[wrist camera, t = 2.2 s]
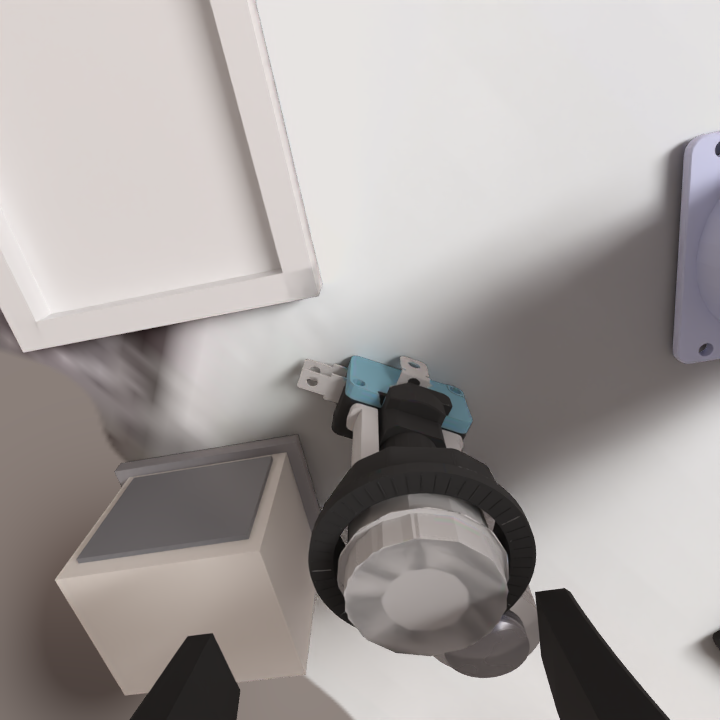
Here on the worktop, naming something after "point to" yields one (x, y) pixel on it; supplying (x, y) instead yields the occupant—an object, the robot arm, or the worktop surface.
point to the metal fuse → (499, 640)
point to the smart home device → (717, 638)
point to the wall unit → (201, 563)
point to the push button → (413, 515)
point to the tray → (142, 169)
